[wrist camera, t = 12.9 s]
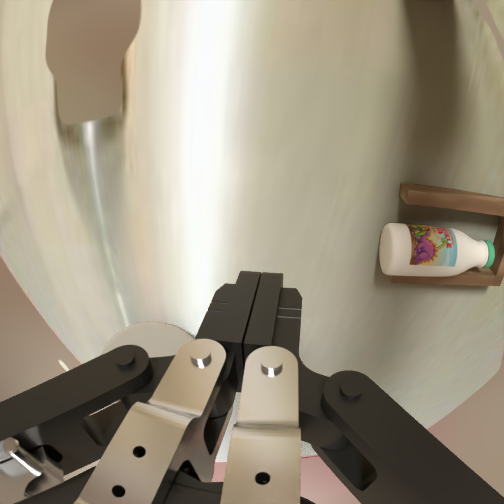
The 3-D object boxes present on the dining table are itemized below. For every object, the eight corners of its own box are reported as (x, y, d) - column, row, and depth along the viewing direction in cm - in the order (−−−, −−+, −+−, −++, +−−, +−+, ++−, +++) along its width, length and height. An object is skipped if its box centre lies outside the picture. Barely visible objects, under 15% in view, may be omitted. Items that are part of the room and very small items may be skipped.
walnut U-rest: (400, 182, 41) (408, 190, 38) (512, 199, 38) (524, 208, 34) (385, 269, 48) (390, 282, 45) (490, 274, 45) (499, 285, 41)
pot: (247, 344, 62) (228, 416, 46) (195, 388, 73) (174, 445, 58) (147, 279, 58) (101, 341, 42) (115, 338, 69) (81, 390, 54)
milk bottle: (375, 245, 48) (473, 251, 45) (381, 285, 43) (484, 286, 40) (386, 211, 42) (490, 221, 39) (396, 252, 37) (506, 258, 34)
